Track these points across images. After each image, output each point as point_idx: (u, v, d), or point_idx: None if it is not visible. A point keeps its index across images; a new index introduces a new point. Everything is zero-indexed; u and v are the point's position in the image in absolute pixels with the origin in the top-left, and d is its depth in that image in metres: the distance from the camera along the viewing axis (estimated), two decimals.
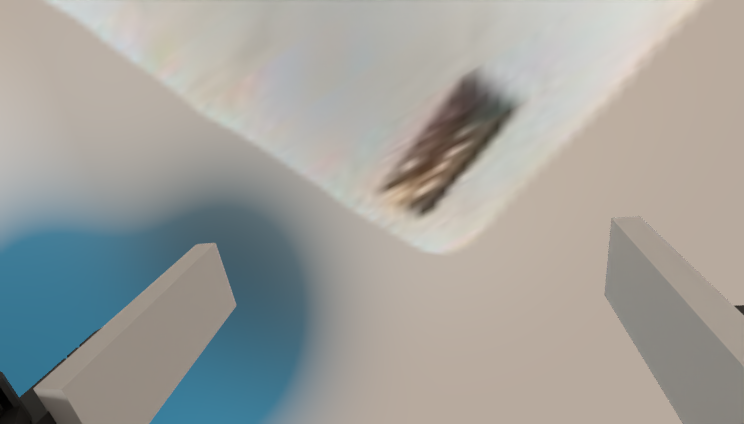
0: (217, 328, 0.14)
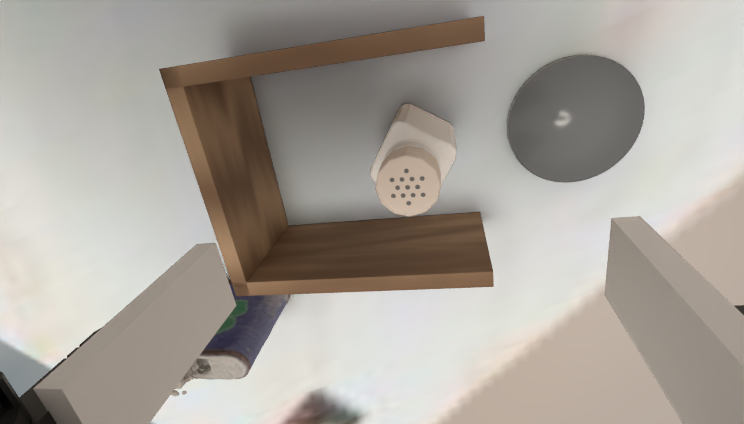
0: (217, 328, 0.14)
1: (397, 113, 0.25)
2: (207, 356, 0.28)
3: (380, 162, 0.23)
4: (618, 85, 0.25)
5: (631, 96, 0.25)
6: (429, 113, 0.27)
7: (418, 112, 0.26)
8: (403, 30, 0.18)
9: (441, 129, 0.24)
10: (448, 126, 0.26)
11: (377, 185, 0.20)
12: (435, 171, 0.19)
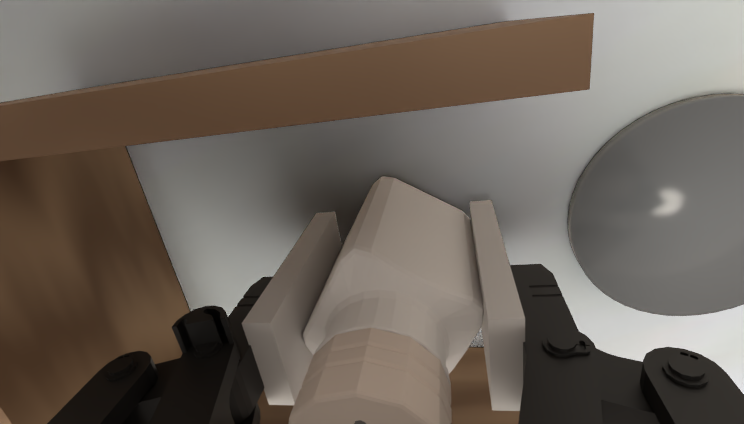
0: None
1: (365, 203, 0.13)
2: None
3: (320, 328, 0.11)
4: None
5: None
6: (427, 194, 0.15)
7: (406, 199, 0.14)
8: (344, 55, 0.06)
9: (450, 242, 0.12)
10: (462, 224, 0.14)
11: None
12: None
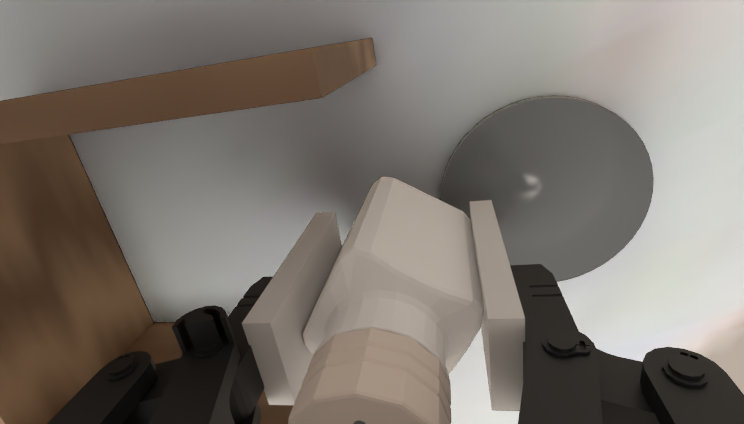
0: None
1: (364, 204, 0.13)
2: None
3: (320, 328, 0.11)
4: (610, 144, 0.15)
5: (631, 162, 0.15)
6: (427, 195, 0.15)
7: (405, 199, 0.14)
8: (162, 75, 0.09)
9: (449, 242, 0.12)
10: (462, 224, 0.14)
11: None
12: None
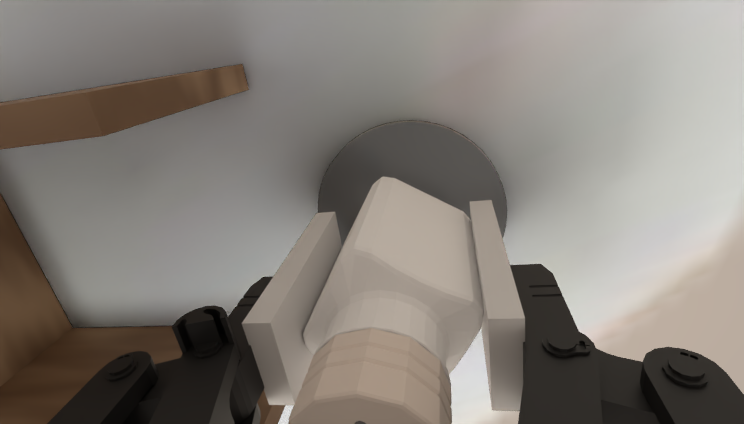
0: None
1: (365, 204, 0.13)
2: None
3: (320, 328, 0.11)
4: (463, 167, 0.16)
5: (484, 183, 0.16)
6: (427, 195, 0.15)
7: (406, 200, 0.14)
8: None
9: (450, 243, 0.12)
10: (462, 224, 0.14)
11: None
12: None
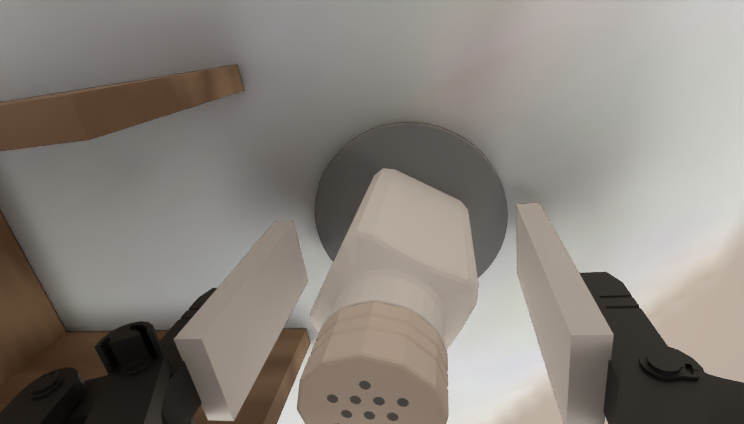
0: (295, 300, 0.15)
1: (367, 193, 0.14)
2: None
3: (326, 306, 0.11)
4: (463, 170, 0.16)
5: (484, 186, 0.16)
6: (426, 185, 0.15)
7: (405, 189, 0.14)
8: None
9: (447, 228, 0.13)
10: (459, 212, 0.15)
11: (300, 405, 0.09)
12: (434, 391, 0.08)
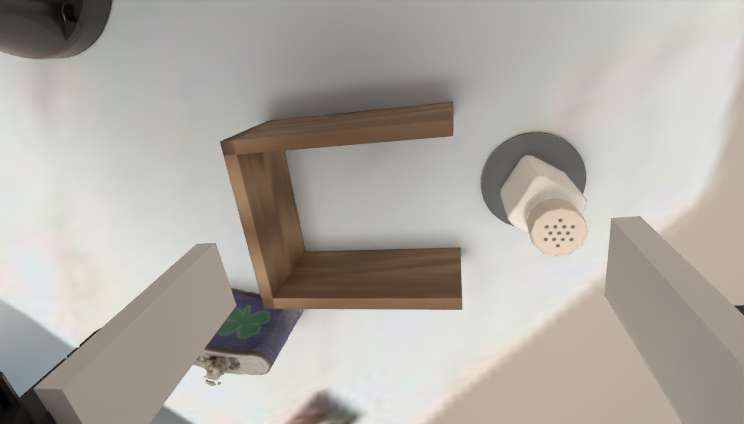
0: (216, 328, 0.14)
1: (526, 165, 0.30)
2: (238, 355, 0.35)
3: (521, 208, 0.27)
4: (565, 157, 0.32)
5: (575, 165, 0.32)
6: None
7: (542, 164, 0.30)
8: (396, 126, 0.26)
9: (566, 180, 0.29)
10: (566, 176, 0.31)
11: (533, 230, 0.25)
12: (585, 221, 0.24)
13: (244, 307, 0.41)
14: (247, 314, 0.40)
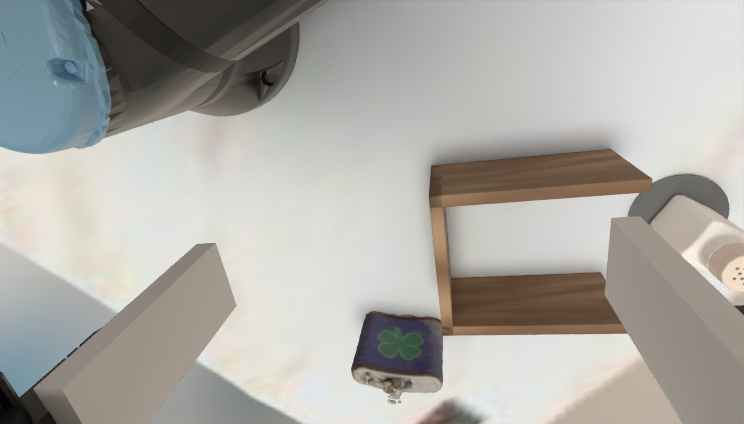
0: (216, 328, 0.14)
1: (686, 206, 0.34)
2: (414, 376, 0.39)
3: (696, 248, 0.32)
4: (712, 195, 0.36)
5: (720, 202, 0.36)
6: (697, 202, 0.36)
7: (698, 204, 0.35)
8: (599, 183, 0.30)
9: (726, 220, 0.33)
10: (718, 214, 0.35)
11: (724, 271, 0.29)
12: None
13: (393, 329, 0.46)
14: (400, 336, 0.45)
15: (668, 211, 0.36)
